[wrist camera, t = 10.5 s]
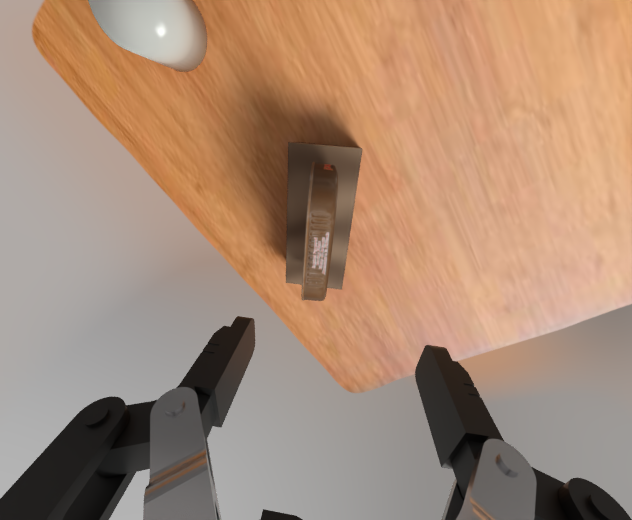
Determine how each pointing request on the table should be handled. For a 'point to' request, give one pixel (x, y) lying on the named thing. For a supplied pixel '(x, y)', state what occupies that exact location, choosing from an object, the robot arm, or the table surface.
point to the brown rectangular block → (298, 198)
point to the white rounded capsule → (155, 29)
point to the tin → (319, 230)
